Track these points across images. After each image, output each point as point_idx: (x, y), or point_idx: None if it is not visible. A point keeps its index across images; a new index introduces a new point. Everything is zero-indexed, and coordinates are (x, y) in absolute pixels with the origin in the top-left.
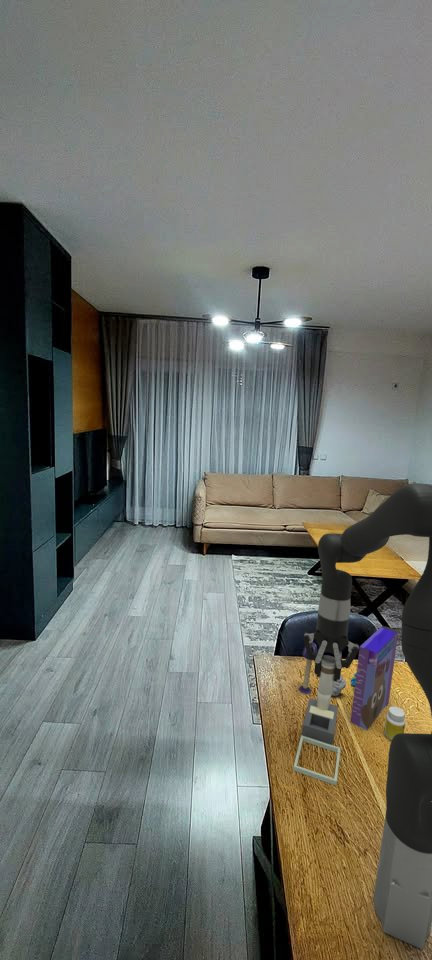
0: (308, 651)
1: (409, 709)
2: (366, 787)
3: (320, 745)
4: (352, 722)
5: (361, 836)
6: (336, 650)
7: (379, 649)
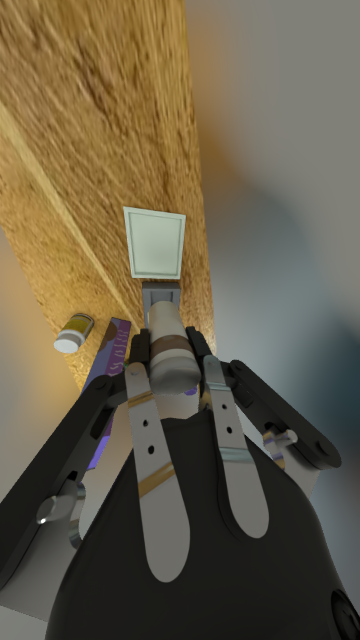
0: (258, 383)
1: (81, 362)
2: (87, 229)
3: (156, 274)
4: (128, 323)
5: (58, 93)
6: (152, 463)
7: None
